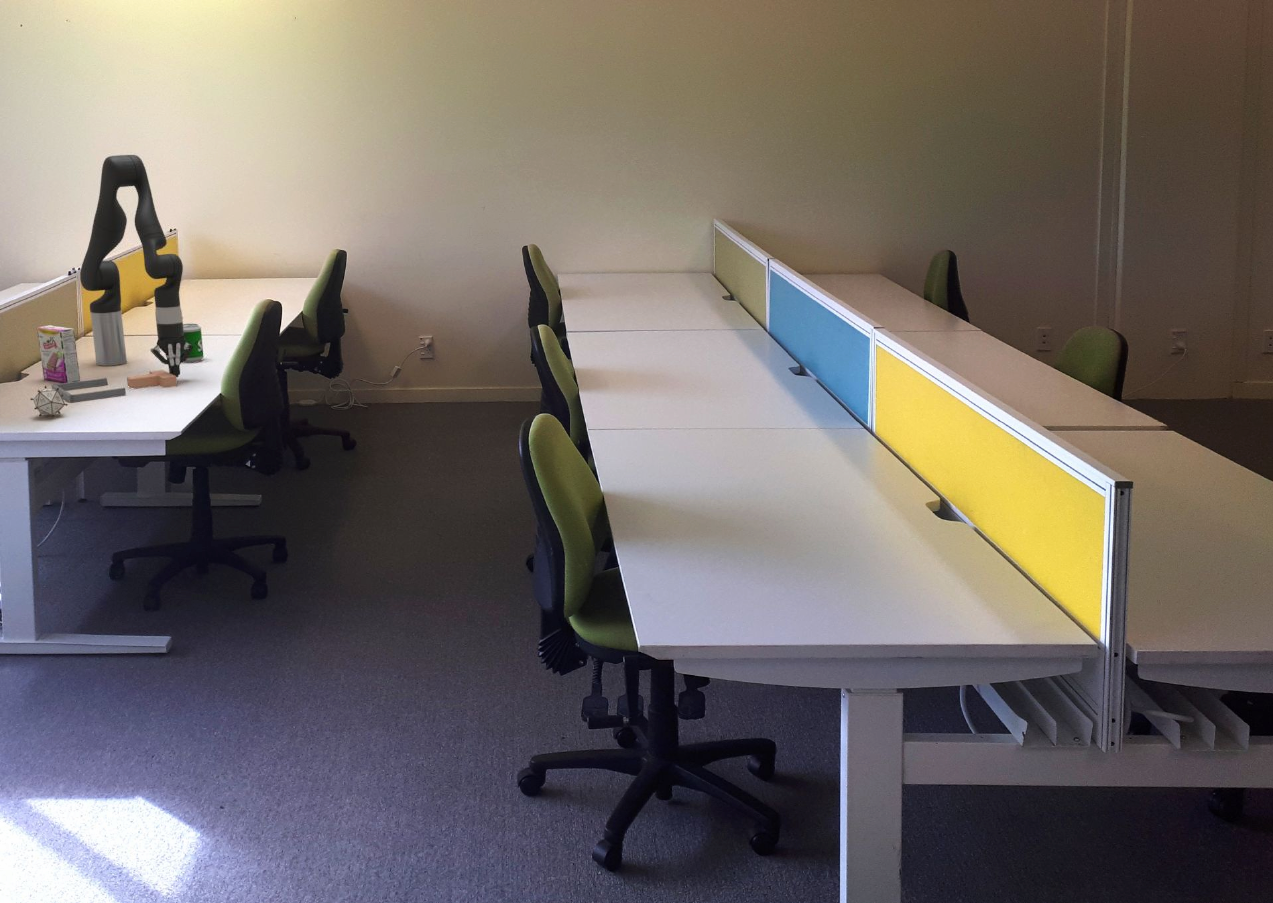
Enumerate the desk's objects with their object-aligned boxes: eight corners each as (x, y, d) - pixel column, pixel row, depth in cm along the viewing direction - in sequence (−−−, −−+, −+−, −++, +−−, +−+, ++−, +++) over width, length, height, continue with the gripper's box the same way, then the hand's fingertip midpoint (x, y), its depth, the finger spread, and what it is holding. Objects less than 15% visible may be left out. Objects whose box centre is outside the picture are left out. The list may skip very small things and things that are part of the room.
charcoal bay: (52, 391, 359) (51, 384, 359) (106, 384, 369) (105, 377, 368) (69, 402, 346) (69, 395, 345) (126, 395, 355) (125, 388, 355)
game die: (48, 428, 333) (40, 395, 336) (76, 417, 333) (68, 384, 335) (28, 419, 324) (20, 386, 327) (58, 408, 324) (50, 375, 327)
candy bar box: (42, 380, 374) (35, 327, 369) (57, 377, 378) (50, 324, 374) (67, 384, 369) (60, 330, 364) (81, 380, 373) (74, 328, 369)
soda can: (196, 363, 399) (192, 327, 395) (175, 362, 400) (171, 326, 397) (208, 359, 406) (205, 323, 403) (187, 358, 407) (184, 322, 404)
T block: (123, 384, 369) (122, 374, 368) (163, 379, 376) (162, 369, 375) (136, 391, 360) (135, 381, 359) (177, 385, 367) (176, 376, 367)
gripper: (186, 317, 375) (191, 372, 379) (142, 321, 366) (148, 377, 371) (195, 320, 369) (201, 376, 374) (151, 324, 361) (157, 381, 366)
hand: (175, 376), depth 373 cm, fingers closed
